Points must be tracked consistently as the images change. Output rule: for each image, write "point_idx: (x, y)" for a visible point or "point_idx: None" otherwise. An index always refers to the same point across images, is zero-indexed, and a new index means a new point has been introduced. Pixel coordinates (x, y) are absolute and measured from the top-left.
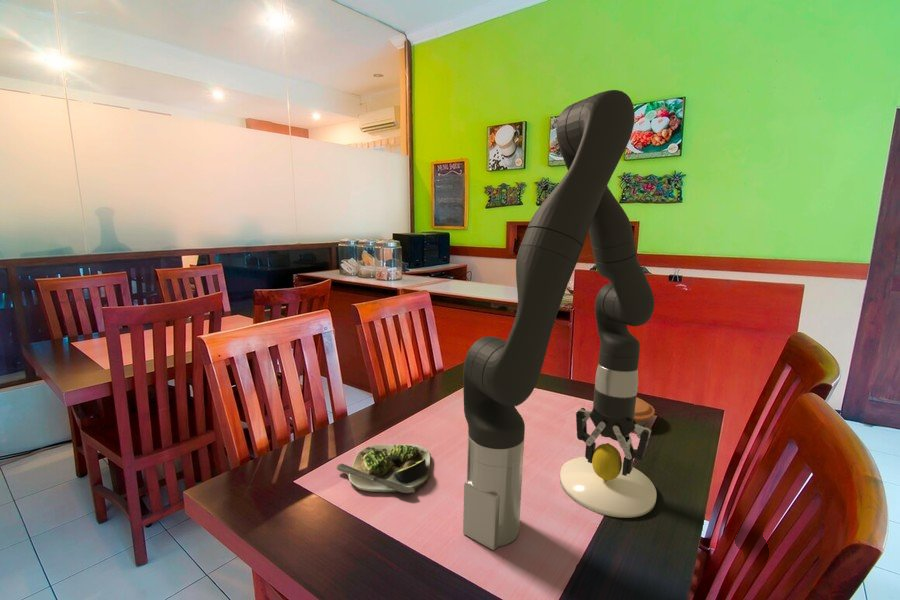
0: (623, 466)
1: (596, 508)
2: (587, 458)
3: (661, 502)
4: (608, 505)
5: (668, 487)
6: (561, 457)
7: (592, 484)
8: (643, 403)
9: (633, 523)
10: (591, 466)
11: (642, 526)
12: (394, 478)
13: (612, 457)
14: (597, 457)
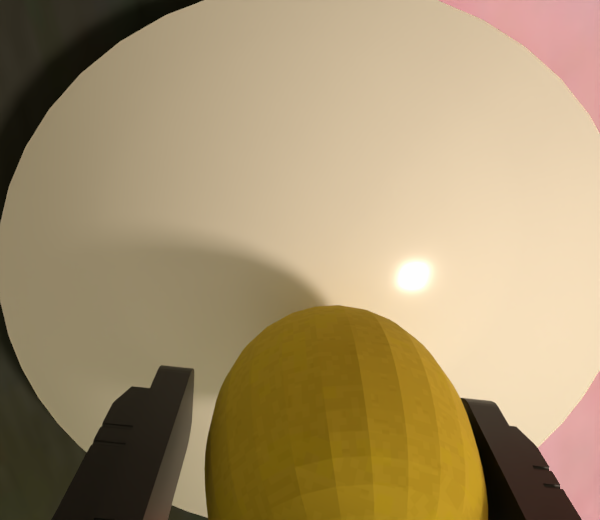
0: (167, 429)
1: None
2: (506, 429)
3: (5, 324)
4: (252, 52)
5: (22, 455)
6: (585, 445)
7: (399, 255)
8: None
9: (69, 9)
10: None
11: (8, 9)
12: None
13: (280, 486)
14: (446, 437)
